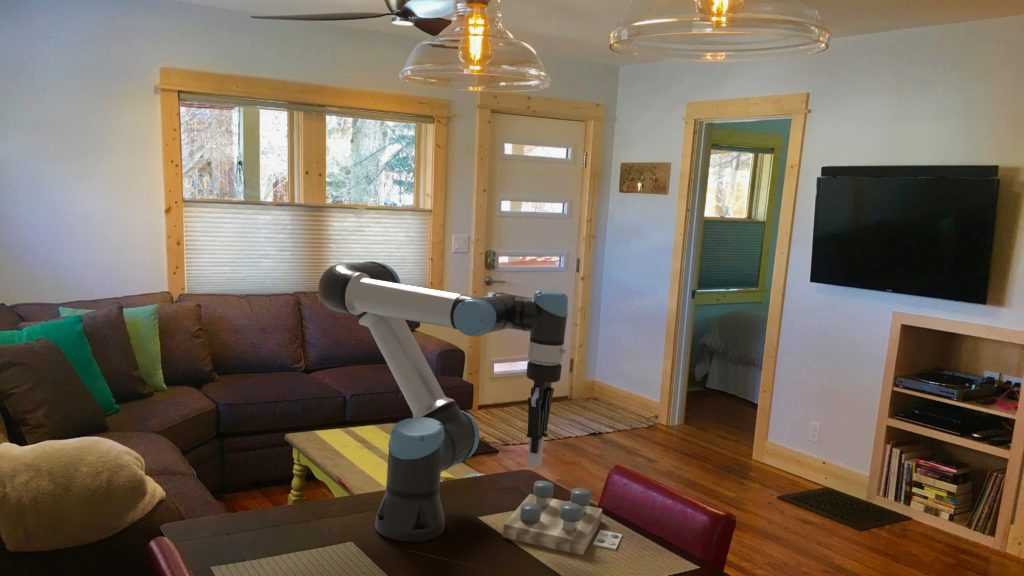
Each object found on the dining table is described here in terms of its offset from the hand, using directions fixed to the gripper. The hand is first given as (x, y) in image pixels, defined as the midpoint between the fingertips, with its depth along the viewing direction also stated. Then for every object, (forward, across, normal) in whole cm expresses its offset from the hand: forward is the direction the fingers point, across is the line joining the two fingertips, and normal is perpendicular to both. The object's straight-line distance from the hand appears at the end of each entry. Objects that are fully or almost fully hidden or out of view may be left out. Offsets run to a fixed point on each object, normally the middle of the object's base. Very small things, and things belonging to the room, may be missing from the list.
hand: (534, 465), depth 166 cm
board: (+16, +5, -5) cm, 17 cm away
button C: (+13, 0, -9) cm, 16 cm away
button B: (+13, +10, 0) cm, 17 cm away
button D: (+13, +10, -9) cm, 19 cm away
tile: (+15, +5, -17) cm, 24 cm away
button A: (+15, 0, 0) cm, 15 cm away
